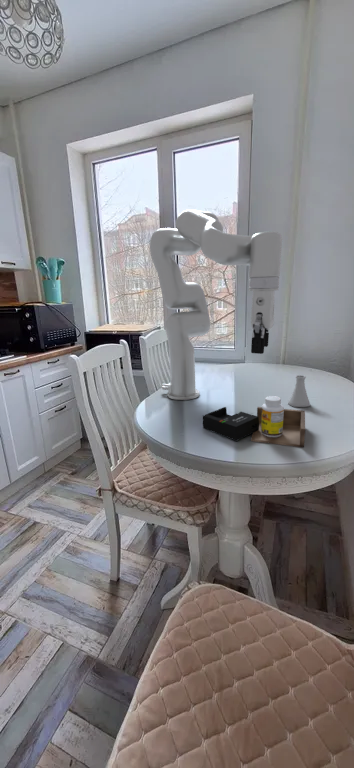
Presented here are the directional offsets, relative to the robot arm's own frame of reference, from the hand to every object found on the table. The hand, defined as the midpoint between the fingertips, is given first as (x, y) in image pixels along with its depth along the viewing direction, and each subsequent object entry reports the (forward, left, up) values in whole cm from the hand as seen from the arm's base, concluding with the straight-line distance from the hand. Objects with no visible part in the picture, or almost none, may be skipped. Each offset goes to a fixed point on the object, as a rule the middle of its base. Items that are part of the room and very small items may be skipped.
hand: (259, 349), depth 88 cm
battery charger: (-7, -6, -22) cm, 24 cm away
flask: (+11, +21, -23) cm, 33 cm away
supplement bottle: (+5, -7, -22) cm, 23 cm away
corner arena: (+6, -5, -22) cm, 24 cm away
